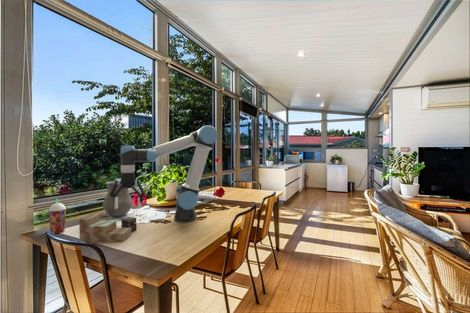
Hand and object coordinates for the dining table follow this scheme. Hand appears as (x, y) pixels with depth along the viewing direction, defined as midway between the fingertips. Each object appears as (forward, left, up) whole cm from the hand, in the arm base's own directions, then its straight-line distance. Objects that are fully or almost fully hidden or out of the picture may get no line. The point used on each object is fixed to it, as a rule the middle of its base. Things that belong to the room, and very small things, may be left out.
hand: (128, 208), depth 138 cm
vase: (+22, -34, -14) cm, 43 cm away
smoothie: (+41, 0, -14) cm, 43 cm away
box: (0, 0, -14) cm, 14 cm away
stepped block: (+7, +12, -13) cm, 19 cm away
